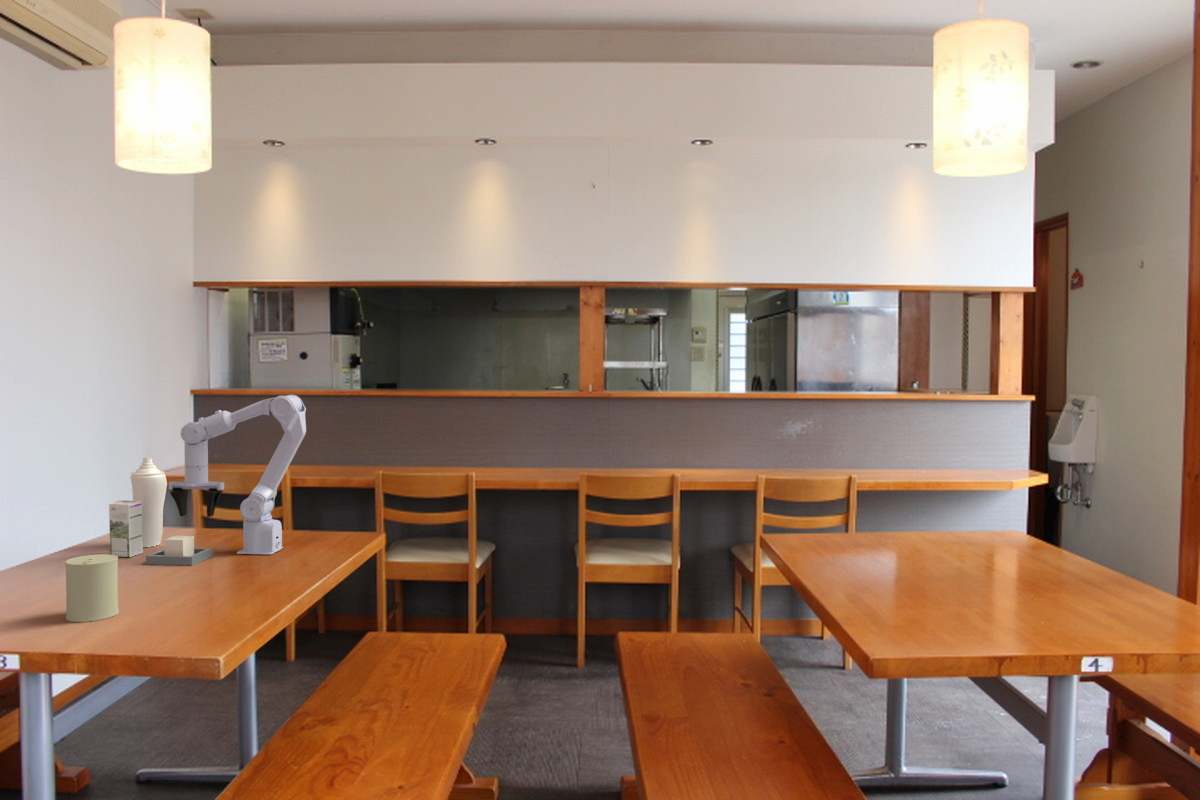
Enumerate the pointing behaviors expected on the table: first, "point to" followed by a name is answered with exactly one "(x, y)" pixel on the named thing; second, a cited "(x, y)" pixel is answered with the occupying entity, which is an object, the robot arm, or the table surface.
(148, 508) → the spray can
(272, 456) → the robot arm
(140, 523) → the syrup box
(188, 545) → the cream cube
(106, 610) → the can
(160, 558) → the slate dish
